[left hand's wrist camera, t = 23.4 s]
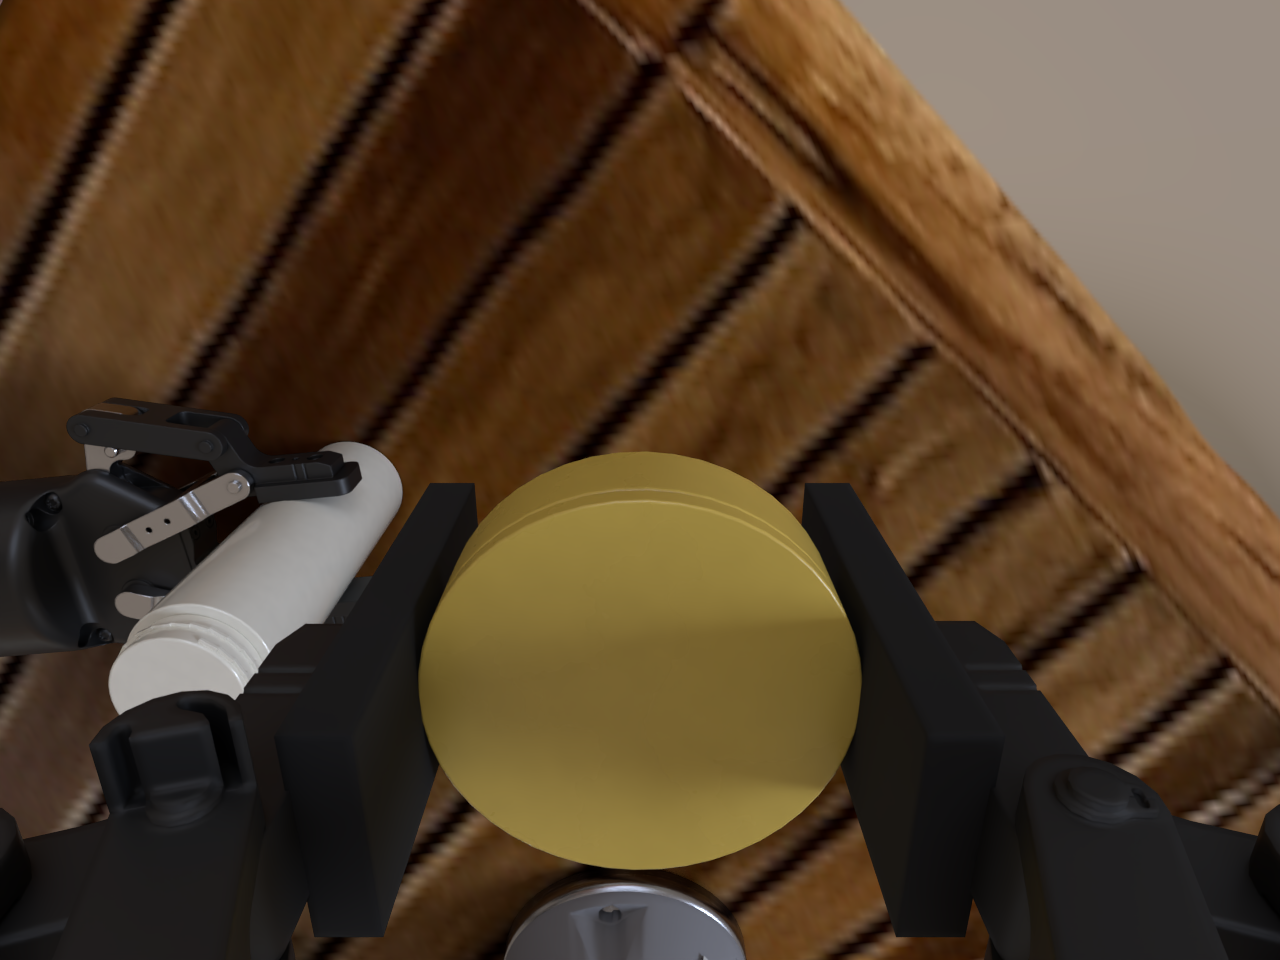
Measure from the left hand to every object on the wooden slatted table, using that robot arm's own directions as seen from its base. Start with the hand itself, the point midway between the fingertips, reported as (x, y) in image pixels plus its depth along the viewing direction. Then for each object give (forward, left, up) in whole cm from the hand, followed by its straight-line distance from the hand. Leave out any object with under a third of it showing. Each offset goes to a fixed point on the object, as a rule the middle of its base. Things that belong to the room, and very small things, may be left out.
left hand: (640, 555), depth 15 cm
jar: (-16, +6, -25) cm, 30 cm away
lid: (0, 0, +4) cm, 4 cm away
